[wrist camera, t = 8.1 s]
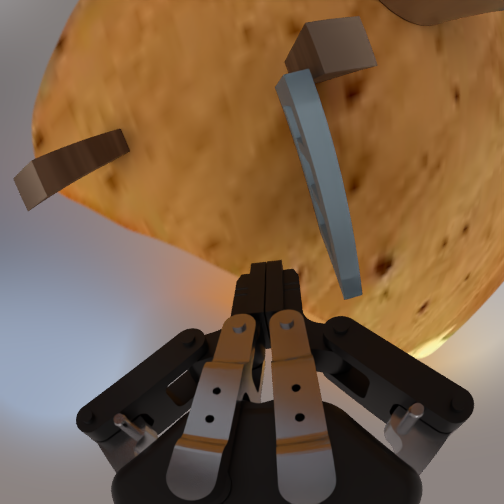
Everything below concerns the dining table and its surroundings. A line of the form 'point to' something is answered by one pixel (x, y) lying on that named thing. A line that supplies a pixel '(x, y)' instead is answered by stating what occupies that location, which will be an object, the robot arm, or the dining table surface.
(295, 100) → the gate leaf
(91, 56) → the dining table surface
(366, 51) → the gate posts
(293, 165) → the dining table surface
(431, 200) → the dining table surface
